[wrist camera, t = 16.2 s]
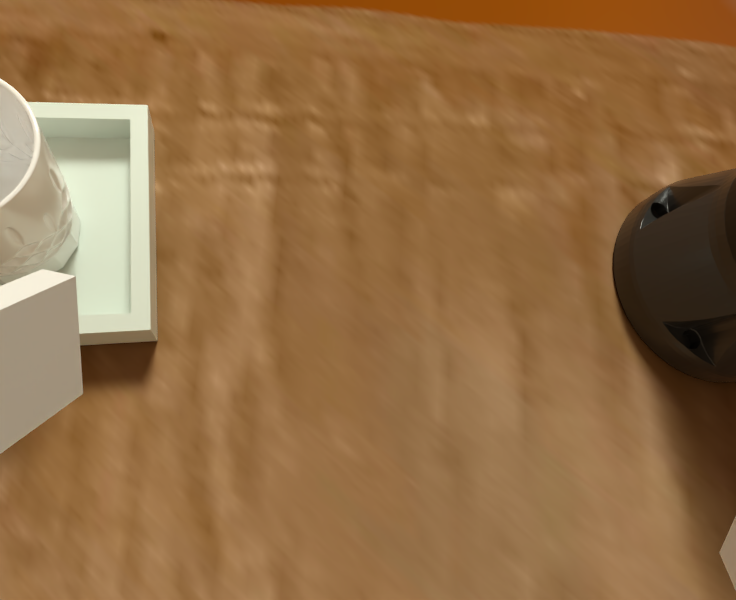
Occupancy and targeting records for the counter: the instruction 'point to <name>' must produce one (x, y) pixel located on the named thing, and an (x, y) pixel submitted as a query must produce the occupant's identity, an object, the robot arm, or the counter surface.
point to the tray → (109, 215)
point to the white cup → (31, 196)
